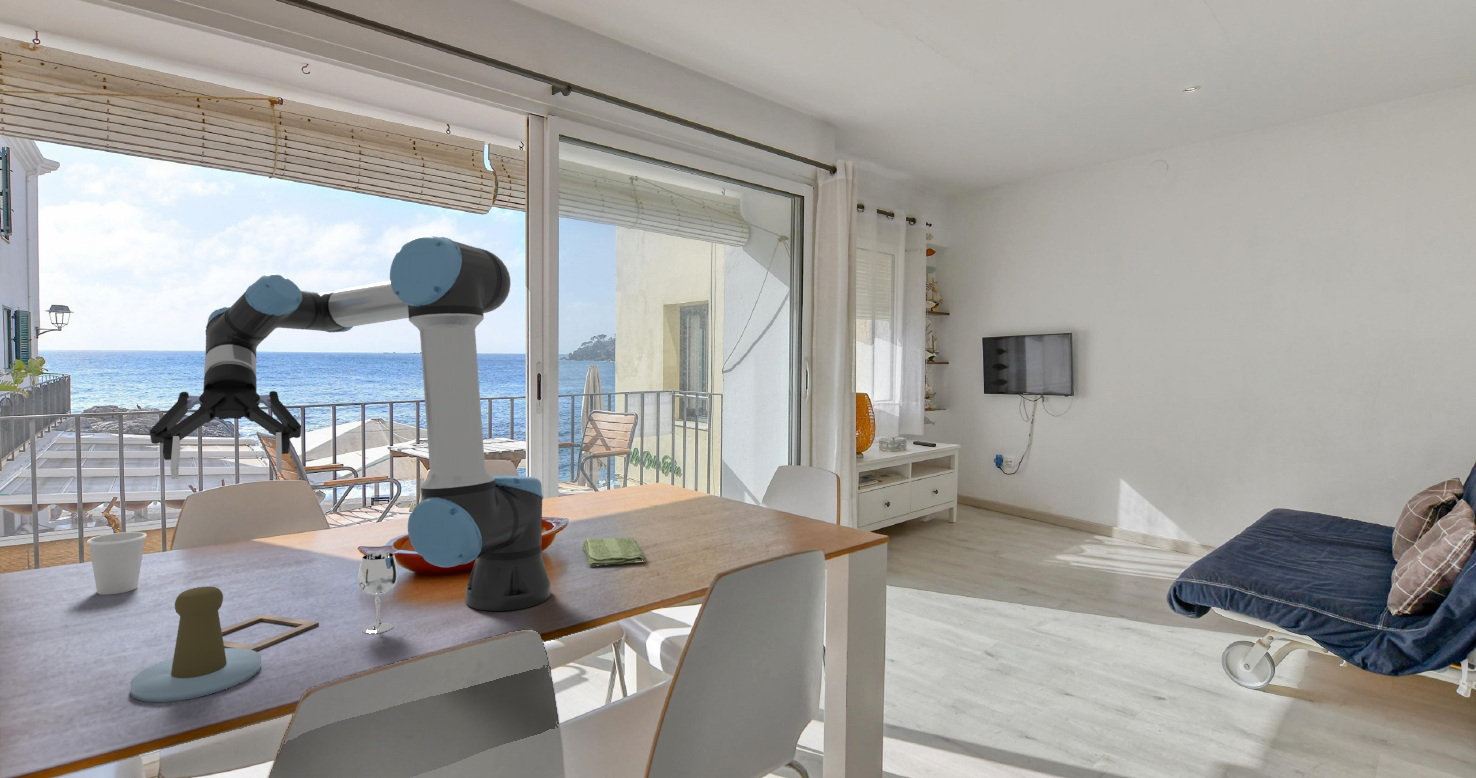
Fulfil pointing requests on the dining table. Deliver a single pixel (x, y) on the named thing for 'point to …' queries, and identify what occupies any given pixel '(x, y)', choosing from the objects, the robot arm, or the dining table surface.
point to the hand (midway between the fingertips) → (228, 470)
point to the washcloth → (612, 551)
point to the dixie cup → (117, 561)
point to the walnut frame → (302, 627)
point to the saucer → (194, 678)
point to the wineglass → (377, 583)
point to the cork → (198, 633)
